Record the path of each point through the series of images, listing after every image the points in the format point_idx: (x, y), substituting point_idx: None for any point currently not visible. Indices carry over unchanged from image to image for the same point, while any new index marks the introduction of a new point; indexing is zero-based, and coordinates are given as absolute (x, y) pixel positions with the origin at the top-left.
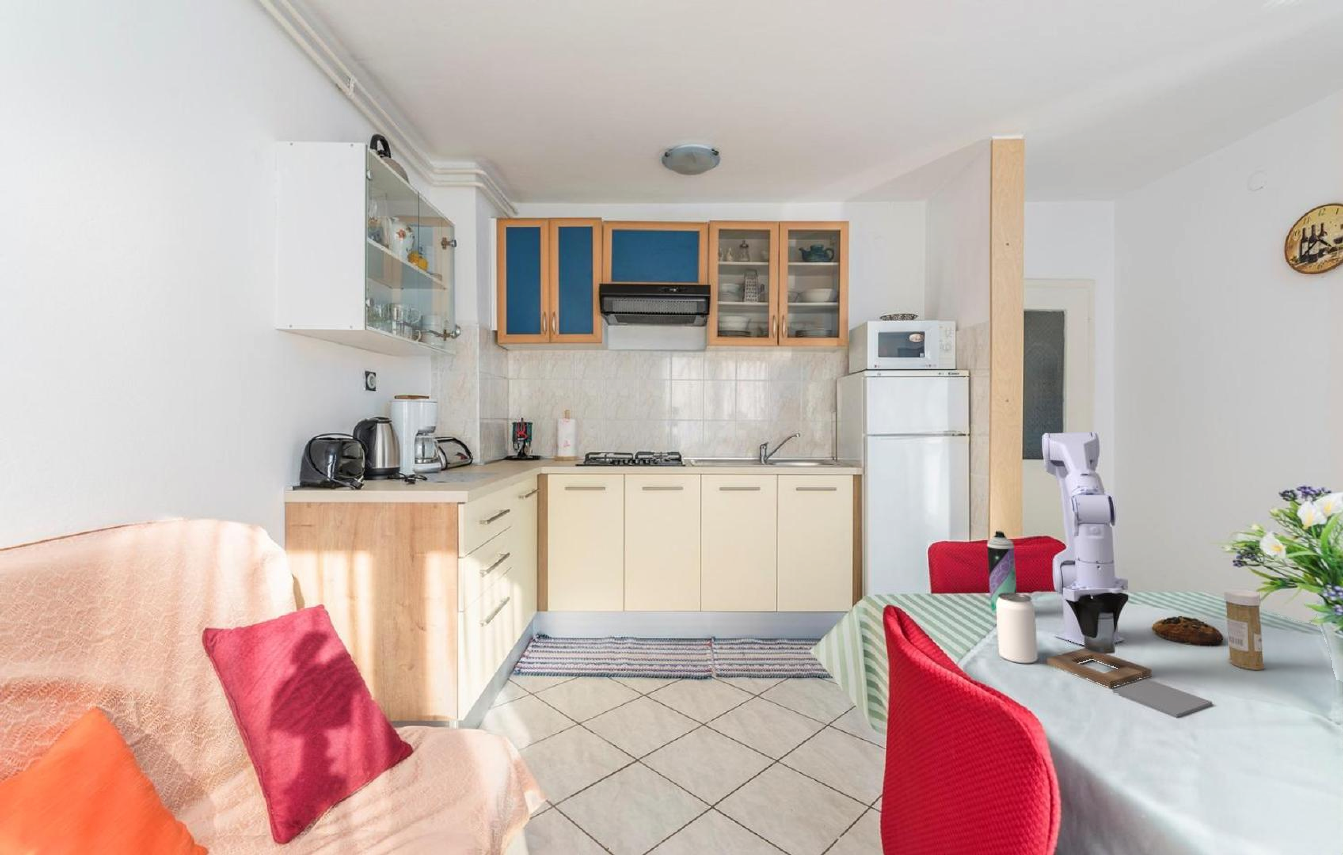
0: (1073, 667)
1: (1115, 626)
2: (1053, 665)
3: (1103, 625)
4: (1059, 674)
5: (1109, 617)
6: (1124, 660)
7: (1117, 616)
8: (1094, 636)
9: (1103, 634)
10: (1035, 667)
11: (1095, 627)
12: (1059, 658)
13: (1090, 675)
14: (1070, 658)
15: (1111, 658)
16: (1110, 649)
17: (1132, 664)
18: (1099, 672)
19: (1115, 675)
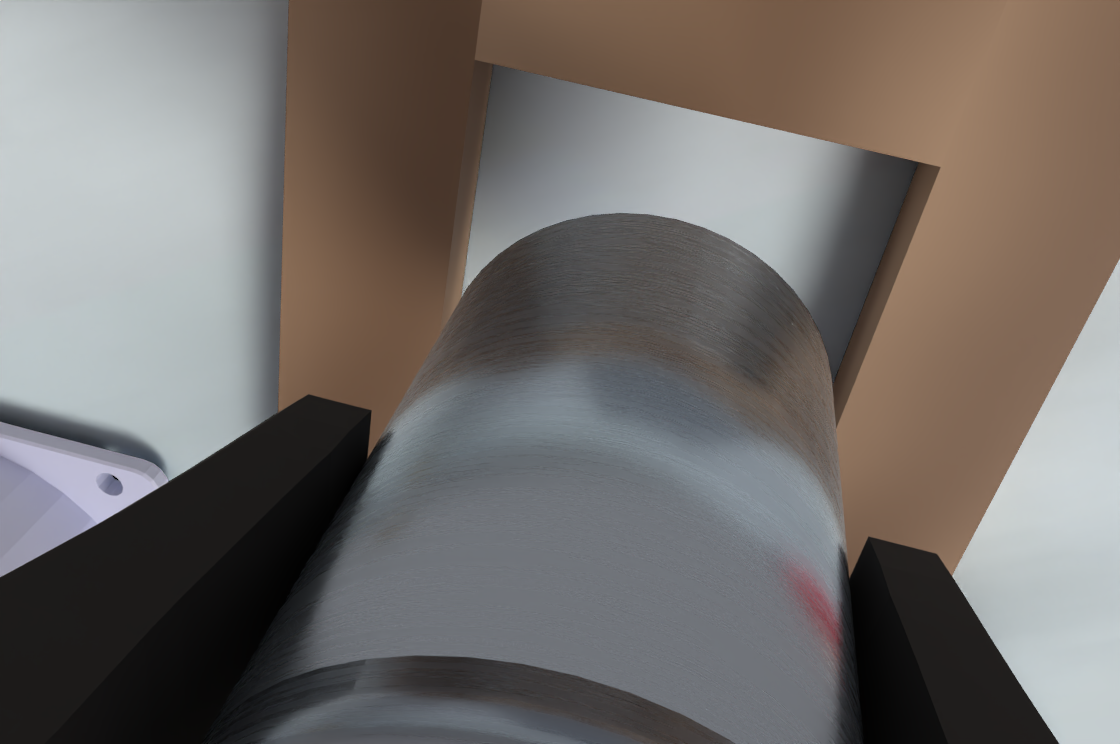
0: (1000, 448)
1: (274, 455)
2: None
3: (806, 641)
4: (1106, 490)
5: (623, 733)
6: (299, 144)
7: (107, 590)
8: (942, 569)
9: (810, 492)
10: (1064, 669)
11: (1026, 717)
12: None
13: (1115, 255)
14: None
15: (366, 261)
16: (720, 264)
17: (342, 34)
18: (964, 210)
19: (929, 39)
